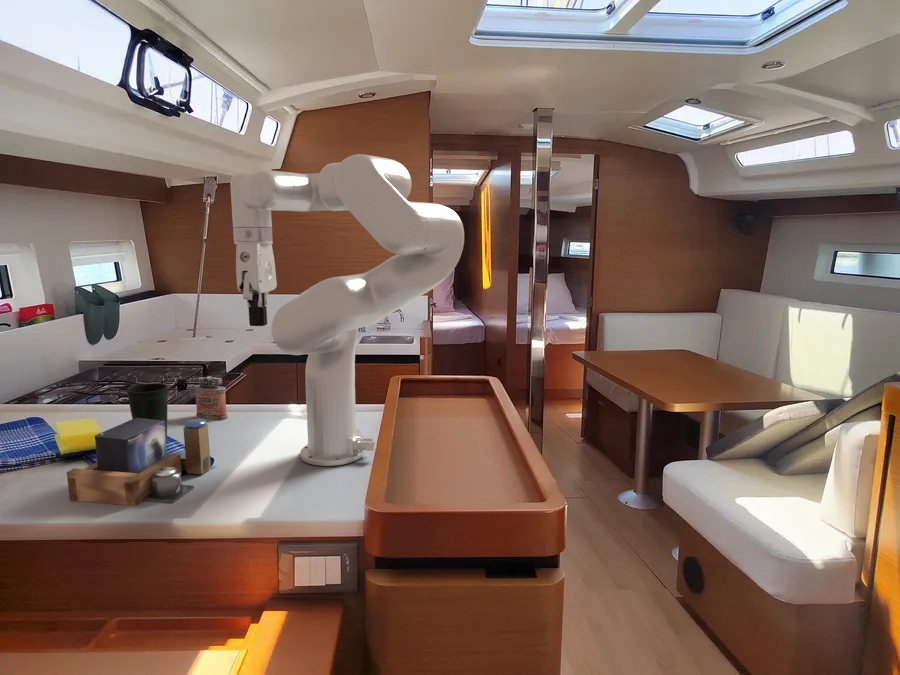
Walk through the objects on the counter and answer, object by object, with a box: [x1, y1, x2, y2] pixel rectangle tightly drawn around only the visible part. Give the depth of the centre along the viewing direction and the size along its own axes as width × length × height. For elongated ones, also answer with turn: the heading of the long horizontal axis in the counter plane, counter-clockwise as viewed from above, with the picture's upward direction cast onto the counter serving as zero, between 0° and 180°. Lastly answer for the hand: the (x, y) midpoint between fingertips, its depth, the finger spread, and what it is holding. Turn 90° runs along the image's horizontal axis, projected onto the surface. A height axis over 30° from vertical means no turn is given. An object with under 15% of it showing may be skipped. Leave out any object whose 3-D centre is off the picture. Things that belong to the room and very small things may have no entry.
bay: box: [66, 452, 183, 507], centre depth 105 cm, size 12×13×5 cm
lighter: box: [193, 375, 228, 421], centre depth 143 cm, size 8×3×10 cm, turn 73°
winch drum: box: [142, 467, 195, 504], centre depth 102 cm, size 6×6×4 cm
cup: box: [126, 382, 169, 438], centre depth 126 cm, size 8×8×12 cm
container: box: [167, 418, 212, 475], centre depth 112 cm, size 14×4×10 cm, turn 81°
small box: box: [94, 418, 168, 474], centre depth 106 cm, size 11×6×10 cm, turn 170°
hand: (258, 325), depth 126 cm, fingers closed
